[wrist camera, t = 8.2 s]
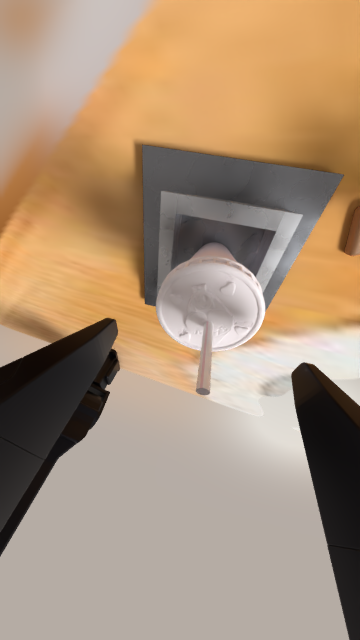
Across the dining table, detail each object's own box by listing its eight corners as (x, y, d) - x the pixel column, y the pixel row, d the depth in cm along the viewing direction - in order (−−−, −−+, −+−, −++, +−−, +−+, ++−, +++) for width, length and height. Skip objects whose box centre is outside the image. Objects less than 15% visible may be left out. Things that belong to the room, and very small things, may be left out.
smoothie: (191, 293, 20) (157, 416, 9) (174, 238, 16) (86, 331, 6) (248, 282, 18) (291, 425, 7) (241, 215, 14) (309, 296, 3)
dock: (147, 300, 23) (136, 317, 20) (146, 147, 13) (125, 134, 10) (254, 323, 22) (260, 344, 19) (336, 175, 12) (374, 170, 9)
